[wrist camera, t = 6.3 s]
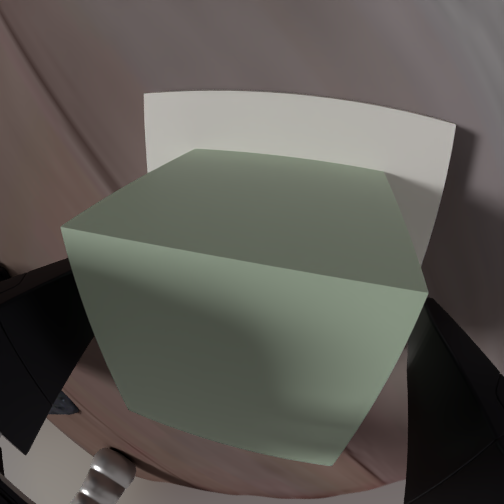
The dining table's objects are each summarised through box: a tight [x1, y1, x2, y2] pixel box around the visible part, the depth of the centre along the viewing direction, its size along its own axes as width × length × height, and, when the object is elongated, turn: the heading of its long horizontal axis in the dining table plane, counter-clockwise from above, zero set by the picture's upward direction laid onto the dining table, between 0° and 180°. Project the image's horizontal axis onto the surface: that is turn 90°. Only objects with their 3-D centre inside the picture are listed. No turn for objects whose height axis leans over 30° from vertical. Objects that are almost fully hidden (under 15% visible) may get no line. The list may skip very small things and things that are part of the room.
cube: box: [61, 149, 428, 466], centre depth 8 cm, size 6×6×6 cm
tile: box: [144, 90, 456, 267], centre depth 11 cm, size 10×10×1 cm
